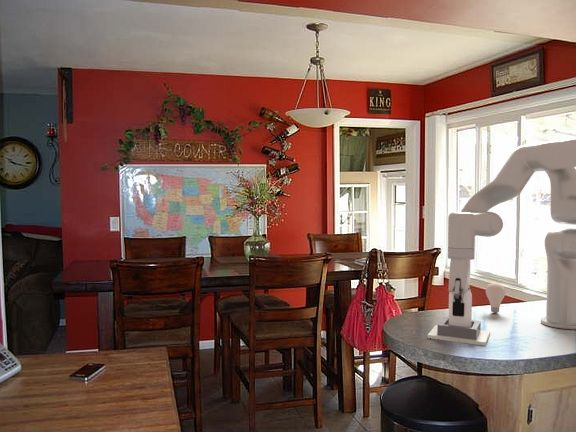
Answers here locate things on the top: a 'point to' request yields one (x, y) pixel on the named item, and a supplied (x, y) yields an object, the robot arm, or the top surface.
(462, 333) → the socket board
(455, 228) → the robot arm
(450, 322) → the can
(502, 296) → the light bulb
